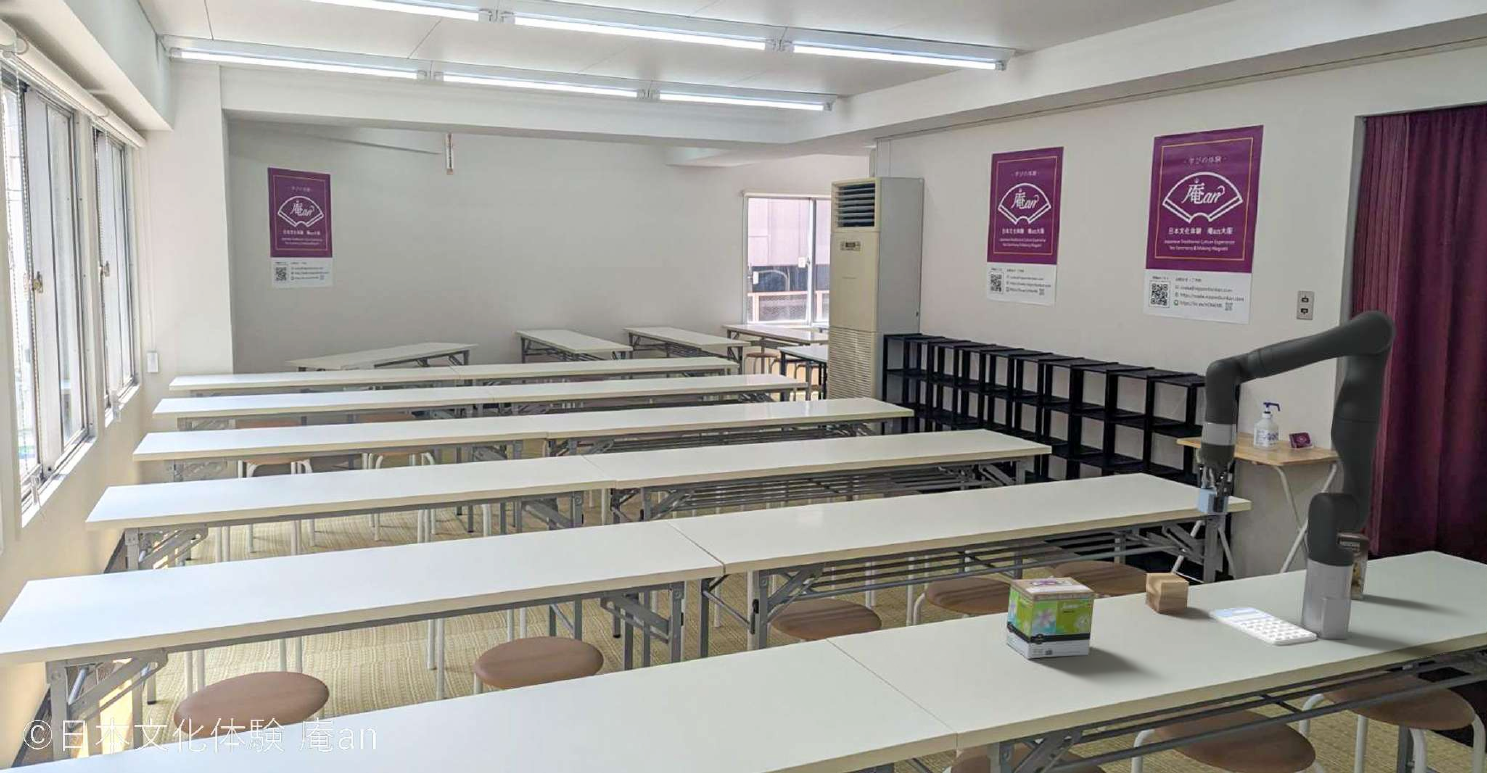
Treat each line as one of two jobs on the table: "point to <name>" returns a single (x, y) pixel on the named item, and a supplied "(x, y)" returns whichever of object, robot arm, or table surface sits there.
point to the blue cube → (1209, 502)
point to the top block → (1167, 585)
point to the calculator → (1262, 626)
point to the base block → (1166, 604)
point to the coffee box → (1356, 560)
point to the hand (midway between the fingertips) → (1211, 508)
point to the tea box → (1049, 617)
